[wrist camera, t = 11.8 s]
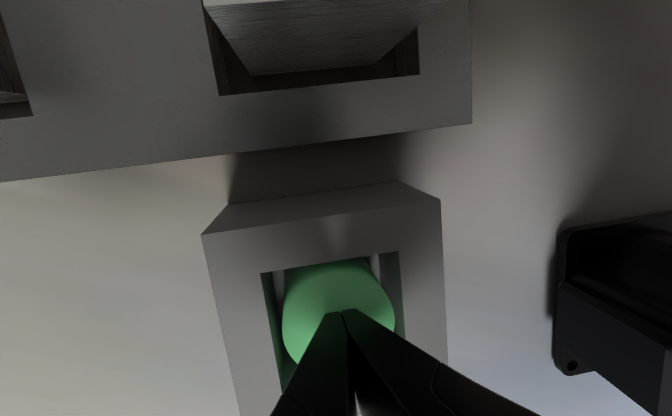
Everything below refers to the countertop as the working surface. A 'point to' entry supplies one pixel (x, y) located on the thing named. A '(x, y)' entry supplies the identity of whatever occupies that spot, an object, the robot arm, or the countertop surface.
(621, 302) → the robot arm
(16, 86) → the block
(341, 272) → the button
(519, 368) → the countertop surface
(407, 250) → the grey hollow square block
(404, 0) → the block
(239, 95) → the rectangular frame
